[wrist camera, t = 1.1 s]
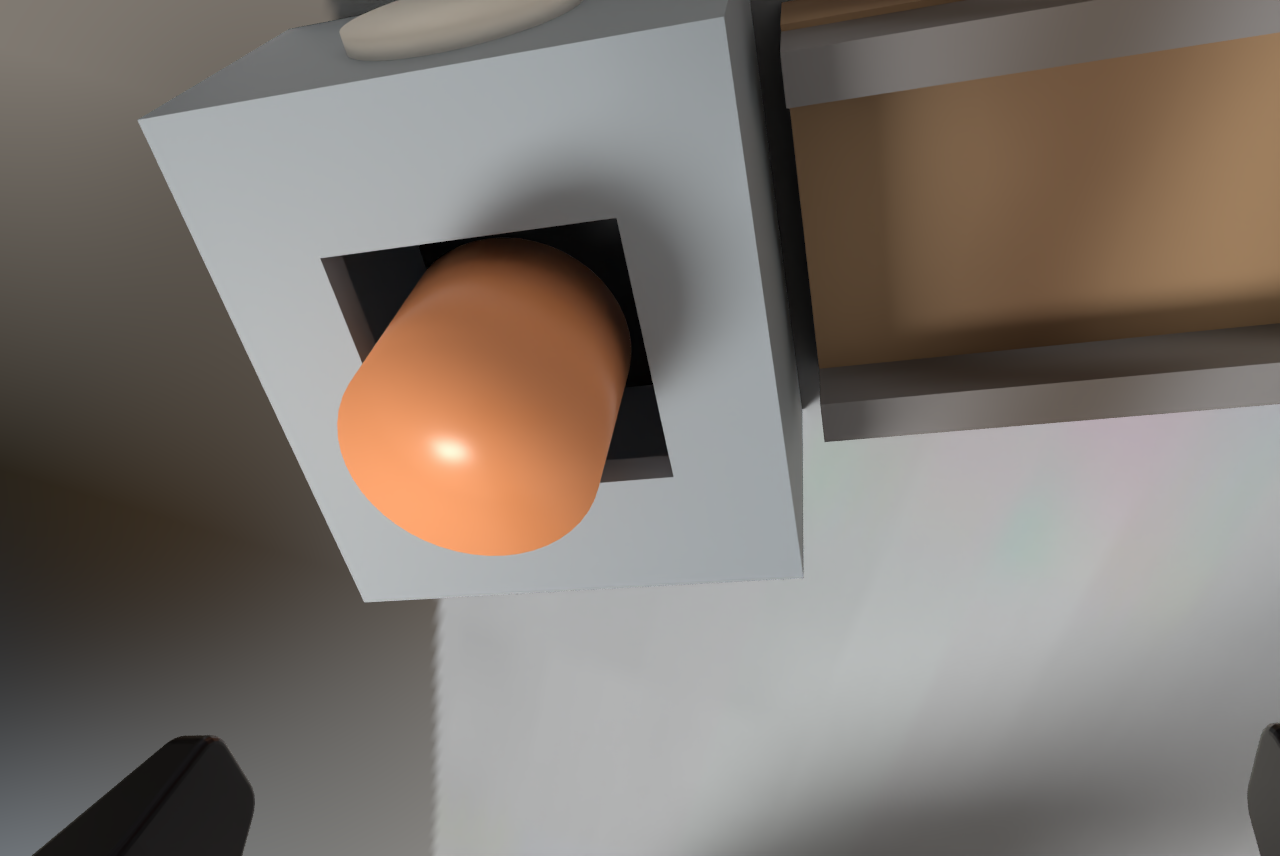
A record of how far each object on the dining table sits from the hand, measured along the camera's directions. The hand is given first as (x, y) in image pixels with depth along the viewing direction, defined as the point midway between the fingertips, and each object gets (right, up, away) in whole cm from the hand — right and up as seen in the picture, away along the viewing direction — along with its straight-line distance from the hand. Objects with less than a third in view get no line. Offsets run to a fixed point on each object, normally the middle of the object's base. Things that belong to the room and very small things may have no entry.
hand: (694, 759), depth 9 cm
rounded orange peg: (-2, +4, +7) cm, 9 cm away
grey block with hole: (-2, +7, +10) cm, 13 cm away
